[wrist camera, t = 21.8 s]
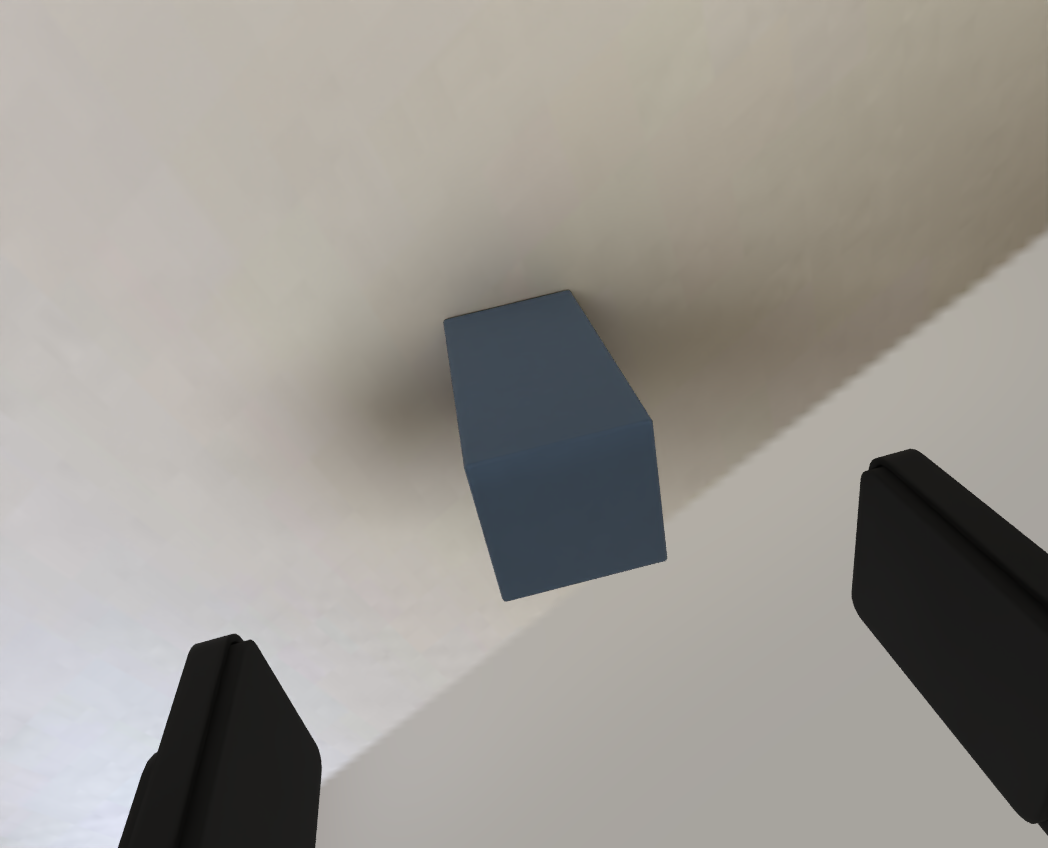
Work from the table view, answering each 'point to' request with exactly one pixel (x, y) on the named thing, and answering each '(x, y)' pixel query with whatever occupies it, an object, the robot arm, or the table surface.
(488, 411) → the blue rectangular block
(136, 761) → the table surface
